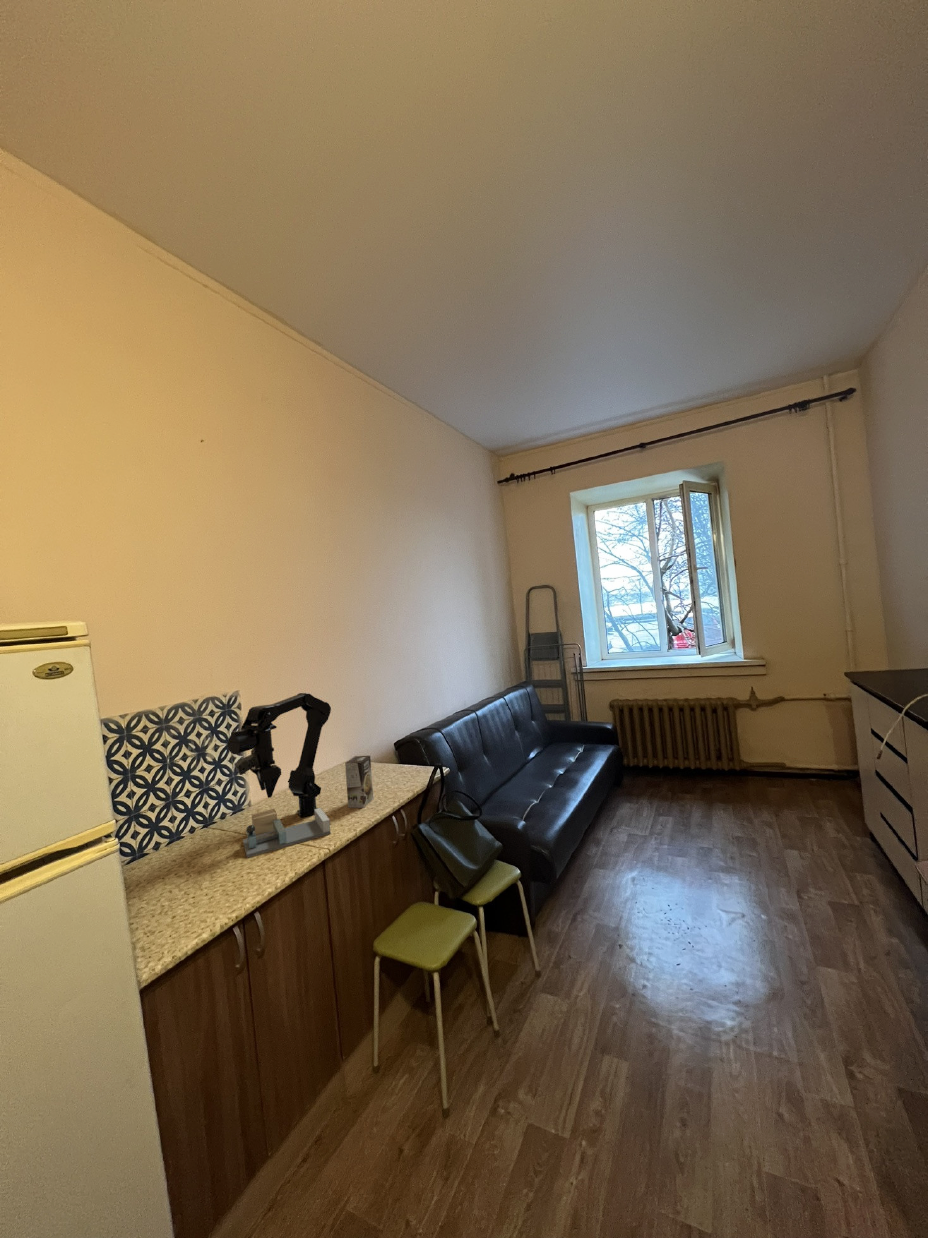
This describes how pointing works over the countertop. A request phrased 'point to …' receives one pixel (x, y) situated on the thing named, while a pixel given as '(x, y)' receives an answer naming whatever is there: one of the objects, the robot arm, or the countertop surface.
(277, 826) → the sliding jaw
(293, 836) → the vise bed
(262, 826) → the oak block
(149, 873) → the countertop surface
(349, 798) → the coffee box
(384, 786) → the countertop surface
